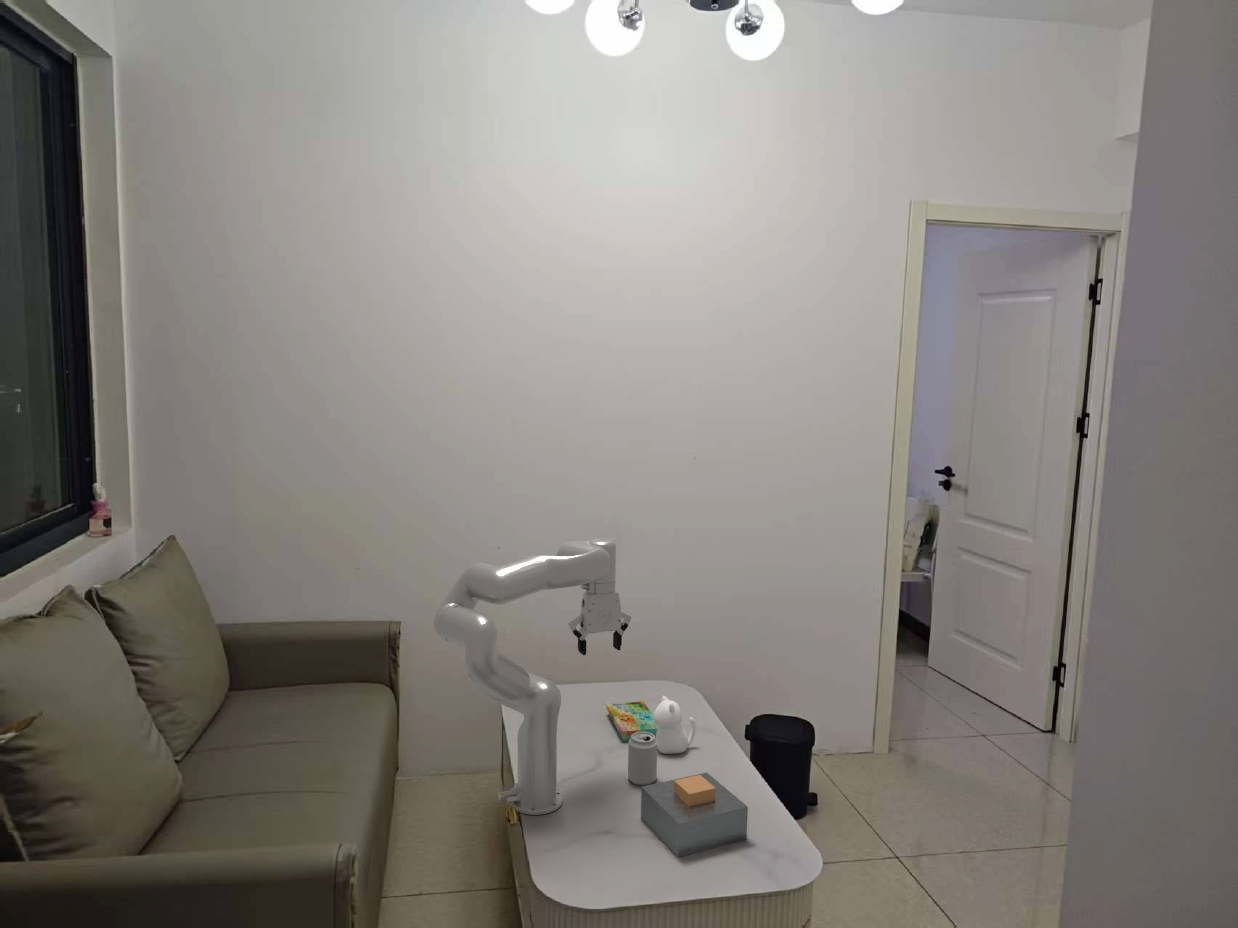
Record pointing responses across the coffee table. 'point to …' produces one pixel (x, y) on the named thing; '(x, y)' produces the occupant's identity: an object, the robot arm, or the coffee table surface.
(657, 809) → the grey square socket block
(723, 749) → the coffee table surface
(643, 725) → the puzzle game
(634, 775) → the can
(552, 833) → the coffee table surface
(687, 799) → the tan cardboard box
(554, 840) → the coffee table surface
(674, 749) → the cat figurine
